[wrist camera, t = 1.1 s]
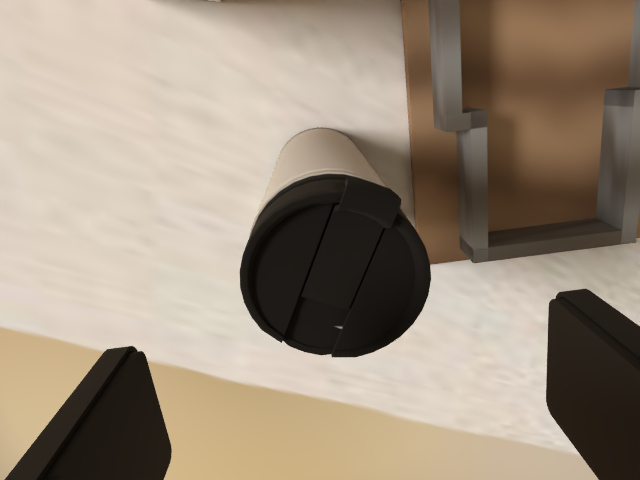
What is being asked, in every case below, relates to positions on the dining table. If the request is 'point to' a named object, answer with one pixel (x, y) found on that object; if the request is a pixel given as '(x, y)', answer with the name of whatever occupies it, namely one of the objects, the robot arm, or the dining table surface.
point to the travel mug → (332, 252)
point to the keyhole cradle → (523, 125)
